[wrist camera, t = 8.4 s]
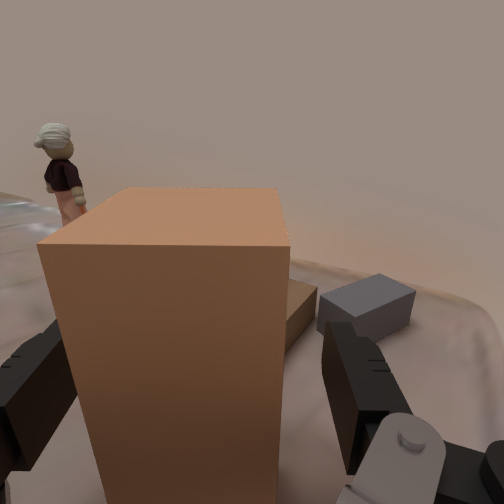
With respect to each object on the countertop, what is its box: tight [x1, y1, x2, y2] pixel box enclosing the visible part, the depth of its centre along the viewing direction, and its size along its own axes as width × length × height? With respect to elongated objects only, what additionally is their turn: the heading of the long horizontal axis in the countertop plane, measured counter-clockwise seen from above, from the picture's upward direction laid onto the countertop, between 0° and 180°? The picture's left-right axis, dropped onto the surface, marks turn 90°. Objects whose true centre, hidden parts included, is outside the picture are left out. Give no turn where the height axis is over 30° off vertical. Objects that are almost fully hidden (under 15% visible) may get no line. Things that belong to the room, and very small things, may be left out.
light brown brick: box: [36, 187, 290, 504], centre depth 10 cm, size 4×4×12 cm
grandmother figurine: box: [34, 123, 87, 227], centre depth 35 cm, size 8×4×13 cm, turn 61°
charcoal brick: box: [317, 274, 416, 343], centre depth 23 cm, size 3×6×3 cm, turn 122°
